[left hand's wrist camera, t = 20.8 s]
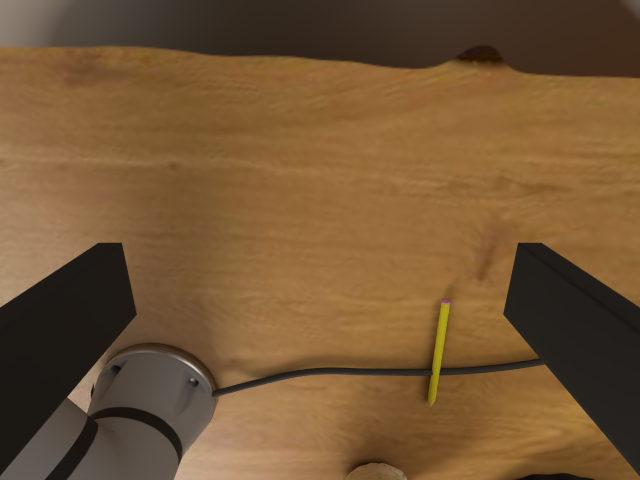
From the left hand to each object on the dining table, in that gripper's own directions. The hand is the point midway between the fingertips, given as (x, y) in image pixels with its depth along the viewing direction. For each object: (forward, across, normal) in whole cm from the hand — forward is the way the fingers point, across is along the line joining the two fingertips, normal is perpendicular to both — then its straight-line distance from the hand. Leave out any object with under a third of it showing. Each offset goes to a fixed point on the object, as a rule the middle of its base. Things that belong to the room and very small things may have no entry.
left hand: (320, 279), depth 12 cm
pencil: (+28, -15, +25) cm, 40 cm away
